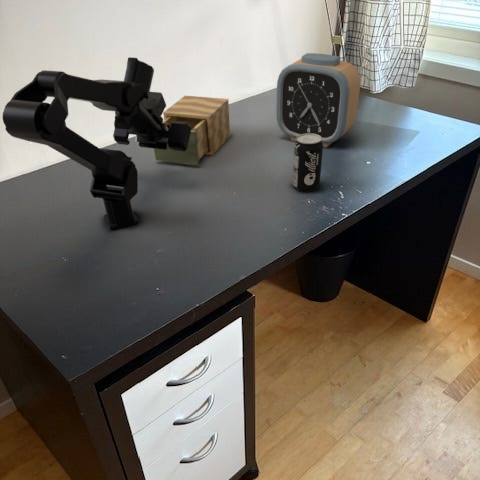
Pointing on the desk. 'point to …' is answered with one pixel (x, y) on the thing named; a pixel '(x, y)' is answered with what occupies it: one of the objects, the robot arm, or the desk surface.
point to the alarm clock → (318, 97)
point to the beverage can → (307, 162)
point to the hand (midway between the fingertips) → (166, 147)
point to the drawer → (195, 145)
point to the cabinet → (205, 117)
